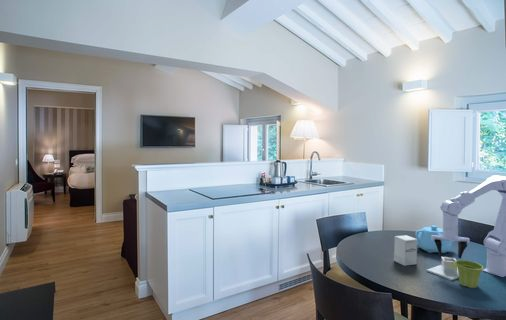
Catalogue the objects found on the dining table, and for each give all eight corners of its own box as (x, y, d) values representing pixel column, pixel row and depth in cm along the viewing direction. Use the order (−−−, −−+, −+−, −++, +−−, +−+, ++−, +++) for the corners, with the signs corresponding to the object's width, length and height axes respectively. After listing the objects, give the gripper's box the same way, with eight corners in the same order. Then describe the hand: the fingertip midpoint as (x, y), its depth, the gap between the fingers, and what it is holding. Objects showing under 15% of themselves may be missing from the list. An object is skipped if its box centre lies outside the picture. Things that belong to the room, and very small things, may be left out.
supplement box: (404, 266, 147) (405, 240, 147) (393, 260, 154) (394, 235, 154) (417, 264, 149) (417, 239, 148) (405, 259, 156) (406, 234, 156)
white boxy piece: (440, 267, 144) (441, 256, 144) (454, 268, 142) (454, 258, 142) (443, 271, 139) (443, 260, 139) (457, 273, 137) (457, 262, 137)
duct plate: (448, 263, 150) (449, 253, 150) (473, 271, 141) (474, 261, 140) (426, 271, 141) (427, 261, 141) (451, 280, 132) (452, 269, 131)
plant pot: (471, 279, 133) (471, 259, 132) (488, 290, 123) (489, 268, 123) (449, 280, 132) (450, 260, 132) (465, 290, 123) (466, 269, 123)
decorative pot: (426, 243, 180) (427, 220, 179) (456, 251, 166) (457, 226, 165) (410, 249, 171) (411, 224, 170) (441, 257, 158) (441, 231, 157)
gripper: (433, 228, 138) (433, 258, 139) (472, 231, 133) (471, 262, 134) (430, 224, 145) (430, 252, 145) (467, 226, 139) (466, 256, 140)
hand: (449, 256), depth 140 cm, fingers open, 7 cm apart
